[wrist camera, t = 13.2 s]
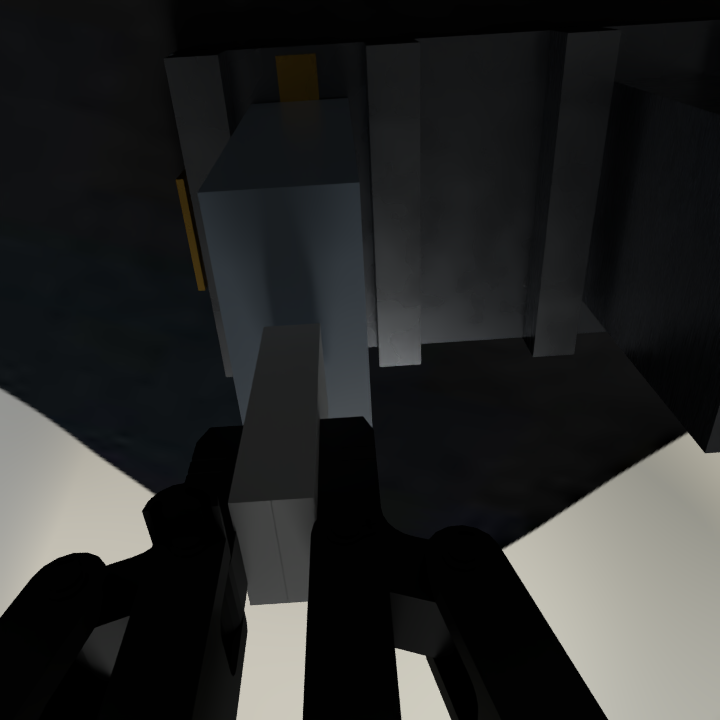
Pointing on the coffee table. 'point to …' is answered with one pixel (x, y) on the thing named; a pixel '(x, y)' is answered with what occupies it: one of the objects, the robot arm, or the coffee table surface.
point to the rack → (510, 186)
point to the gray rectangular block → (291, 242)
